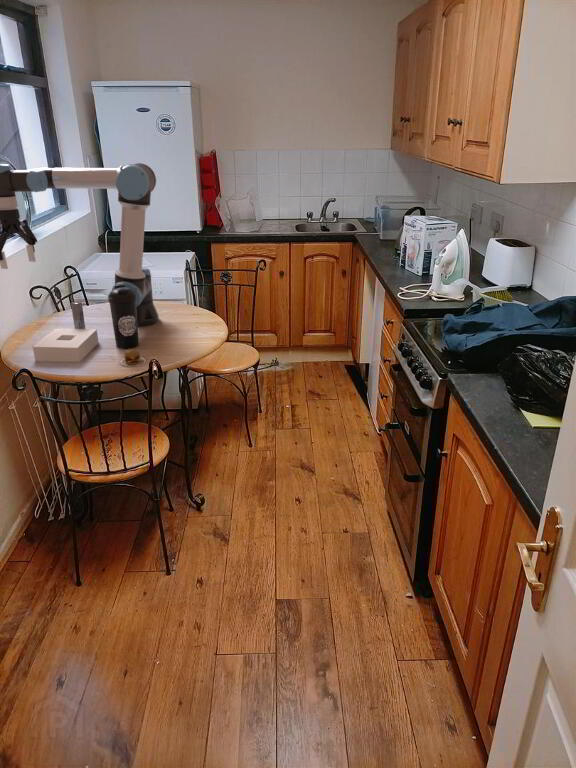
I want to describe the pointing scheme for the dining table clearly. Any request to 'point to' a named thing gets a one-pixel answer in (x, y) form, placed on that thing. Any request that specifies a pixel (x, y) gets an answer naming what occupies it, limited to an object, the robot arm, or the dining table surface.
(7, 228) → the robot arm
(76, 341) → the socket block
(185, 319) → the dining table surface
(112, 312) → the water bottle
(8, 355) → the dining table surface
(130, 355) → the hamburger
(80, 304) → the steel pin
